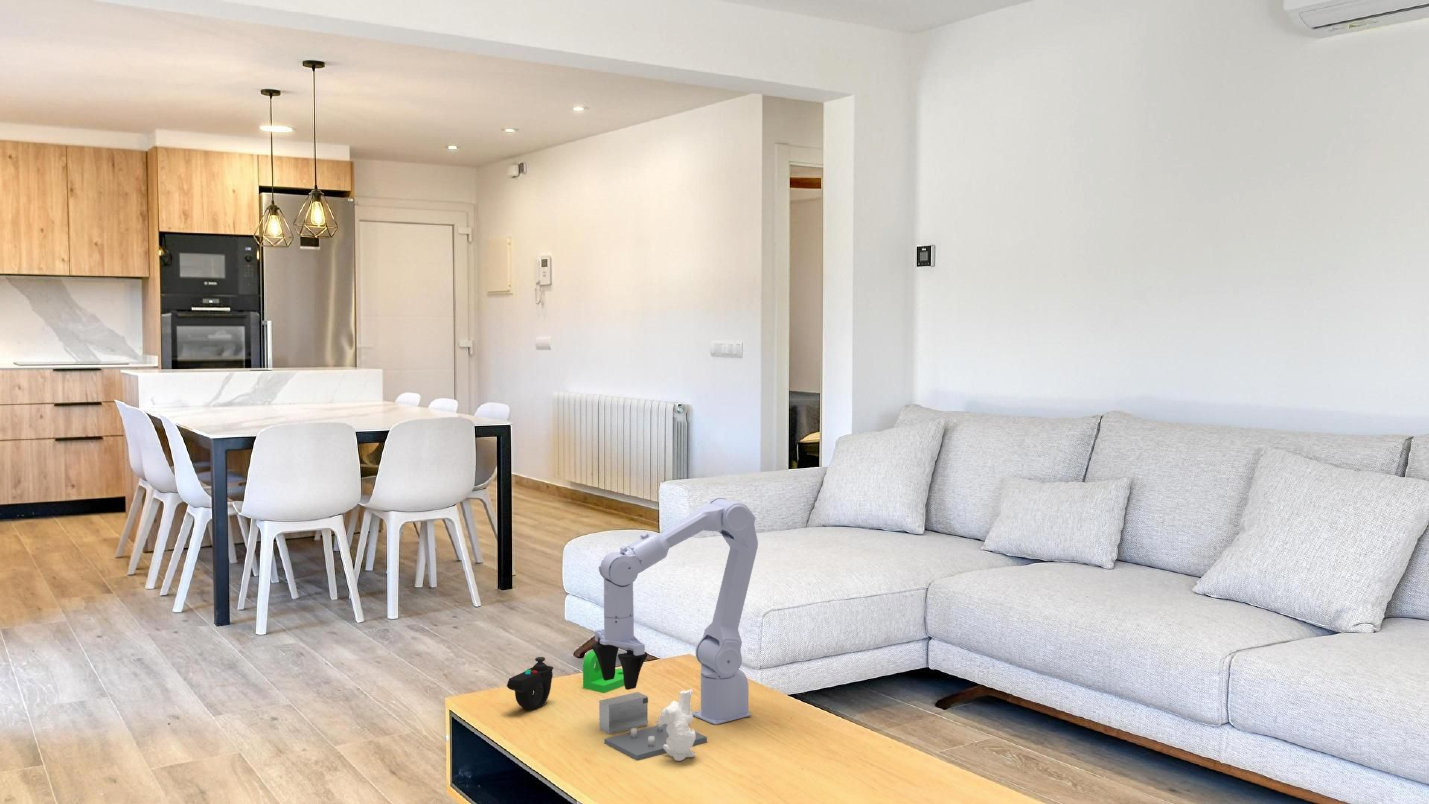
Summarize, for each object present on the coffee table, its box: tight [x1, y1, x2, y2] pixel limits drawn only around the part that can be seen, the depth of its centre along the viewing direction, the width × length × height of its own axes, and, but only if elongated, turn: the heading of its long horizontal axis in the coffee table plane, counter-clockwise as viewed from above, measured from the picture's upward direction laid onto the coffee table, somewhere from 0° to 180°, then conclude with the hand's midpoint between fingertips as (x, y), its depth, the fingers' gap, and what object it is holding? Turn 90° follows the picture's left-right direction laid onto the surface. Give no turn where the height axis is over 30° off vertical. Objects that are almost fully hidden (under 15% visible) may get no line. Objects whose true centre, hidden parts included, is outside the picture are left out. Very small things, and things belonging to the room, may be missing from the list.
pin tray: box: [603, 720, 708, 761], centre depth 220 cm, size 16×11×3 cm
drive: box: [598, 691, 649, 735], centre depth 229 cm, size 9×4×6 cm, turn 128°
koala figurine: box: [658, 688, 696, 762], centre depth 213 cm, size 8×7×12 cm
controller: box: [506, 656, 554, 711], centre depth 240 cm, size 4×12×10 cm, turn 153°
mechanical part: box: [582, 650, 625, 694], centre depth 257 cm, size 12×6×8 cm, turn 144°
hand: (619, 684), depth 226 cm, fingers open, 7 cm apart
